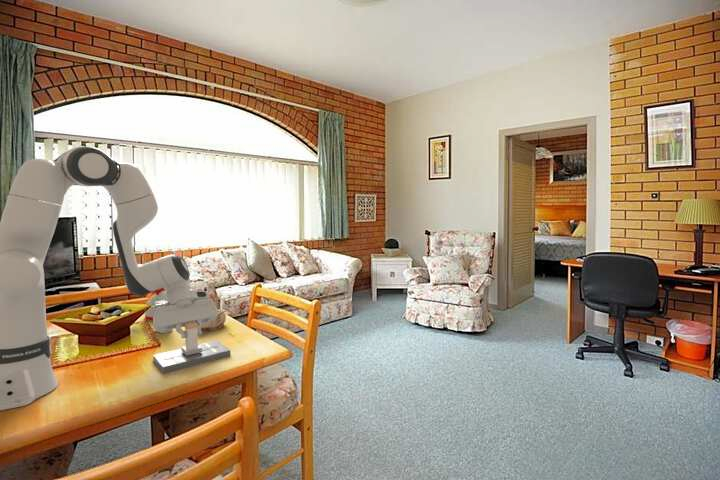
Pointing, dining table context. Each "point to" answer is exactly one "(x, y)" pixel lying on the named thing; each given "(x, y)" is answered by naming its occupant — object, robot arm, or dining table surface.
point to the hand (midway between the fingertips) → (192, 335)
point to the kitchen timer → (158, 296)
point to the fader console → (190, 357)
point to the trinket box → (214, 322)
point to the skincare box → (159, 304)
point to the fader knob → (191, 339)
